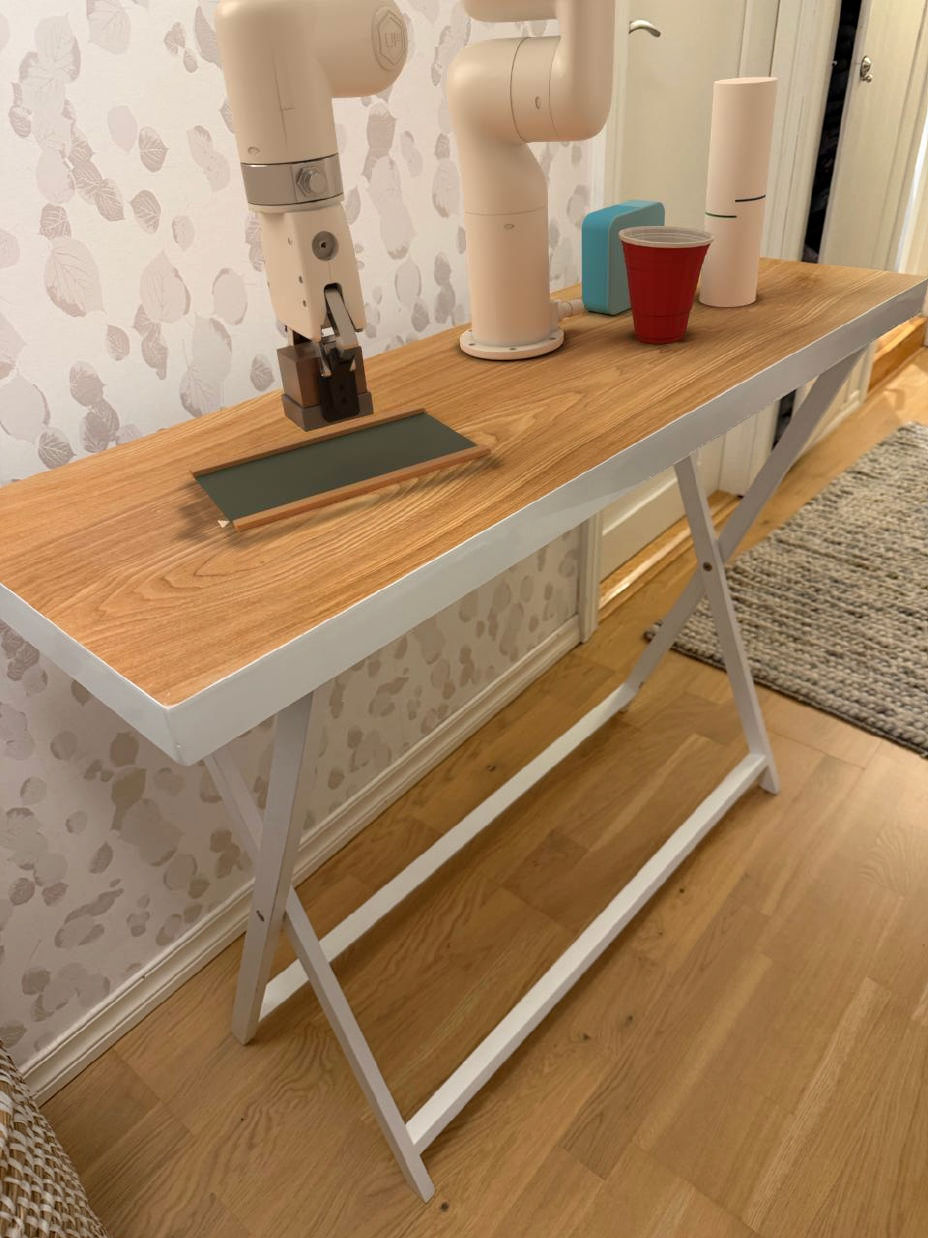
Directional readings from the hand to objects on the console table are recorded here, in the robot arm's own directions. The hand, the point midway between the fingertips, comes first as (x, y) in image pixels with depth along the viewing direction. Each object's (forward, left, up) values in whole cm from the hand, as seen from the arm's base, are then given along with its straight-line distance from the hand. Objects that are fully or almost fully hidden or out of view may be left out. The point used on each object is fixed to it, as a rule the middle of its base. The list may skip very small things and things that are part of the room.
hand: (328, 406), depth 82 cm
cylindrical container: (-63, -17, -7) cm, 66 cm away
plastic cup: (-47, -11, -7) cm, 49 cm away
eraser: (0, 0, -1) cm, 1 cm away
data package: (-52, -25, -7) cm, 58 cm away
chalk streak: (+13, +4, -6) cm, 15 cm away
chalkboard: (0, 0, -7) cm, 7 cm away
